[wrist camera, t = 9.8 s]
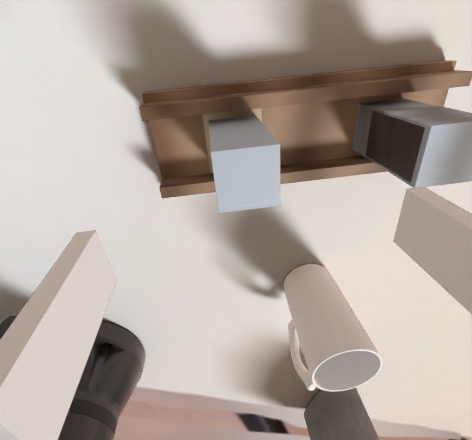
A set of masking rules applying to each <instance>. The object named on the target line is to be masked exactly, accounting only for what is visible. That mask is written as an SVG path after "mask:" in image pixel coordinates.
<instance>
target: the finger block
mask: <svg viewBox="0 0 472 440" xmlns="http://www.w3.org/2000/svg"><path fill="white" fill-rule="evenodd" d="M209 135H210V151H211V159H212V166H213V174H214V181H215V188H216V196H217V203H218V210H219V213H225V212H233V211H241V210H249V209H257V208H265V207H273V206H280V143H279V142H278V141H277V140H276V139H275V138H274V136H273V135H272V134H271V133H270V132H269V130H268V129H267V128H266V127H265V126H264V125H263V123H262V122H261V121H260V120H259V119H258V118H257V116H256V115H252V116H243V117H234V118H225V119H216V120H209Z"/></svg>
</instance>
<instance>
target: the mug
mask: <svg viewBox="0 0 472 440" xmlns="http://www.w3.org/2000/svg"><path fill="white" fill-rule="evenodd" d="M284 291H285V295H286V299H287V302H288V305H289V308H290V312H291V315H292V318H293V319H292V321H291V322H290V323H289V324H288V330H289V342H290V351H291V357H292V361H293V364H294V367H295V369H296V371H297V373H298V375H299V376H300V378H301V379H302V380H303V382H304V383H305V385H306V388H307V389H308V390H310V391H313V390H314V389H315V388H316V387H317V388H319V389H321V390H324V391H344V390H349V389H352V388H355V387H358V386H360V385H363V384H365V383H366V382H368V381H369V380H371V379H372V378H373V377H375V376H376V375H377V374H378V372H379V371H380V369H381V367H382V363H383V361H382V358H381V356H380V355H379V353H378V351H377V349H376V348H375V346H374V344H373V343H372V341H371V339H370V338H369V336H368V334H367V333H366V331H365V329H364V328H363V326H362V325H361V323H360V321H359V320H358V318H357V317H356V315H355V313H354V312H353V310H352V308H351V307H350V305H349V304H348V302H347V300H346V299H345V297H344V295H343V294H342V292H341V290H340V289H339V287H338V285H337V284H336V282H335V281H334V279H333V278H332V276H331V274H330V273H329V271H328V270H327V269H326V268H325V267H323V266H321V265H317V264H306V265H302V266H299V267H297V268H295V269H294V270H292V271H291V272H290V273H289V274H288V275H287V277H286V278H285V281H284ZM299 341H300V344H301V348H302V351H303V354H304V357H305V361H306V364H307V367H308V370H307V369H306V368H305V366H304V365H303V363H302V361H301V358H300V353H299Z"/></svg>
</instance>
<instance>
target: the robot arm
mask: <svg viewBox="0 0 472 440" xmlns="http://www.w3.org/2000/svg"><path fill="white" fill-rule="evenodd" d="M394 242H395V243H396V244H397V245H398V246H399V247H400V248H401V249H402V250H403V251H404V252H405V253H406V254H408V255H409V256H410V257H411V258H412V259H413V260H414V261H415V262H416V263H417V264H418V265H419V266H420V267H422V268H423V269H424V270H425V271H426V272H427V273H428V274H429V275H430V276H431V277H432V278H433V279H434V280H435V281H437V282H438V283H439V284H440V285H441V286H442V287H443V288H444V289H445V290H446V291H447V292H448V293H449V294H451V295H452V296H453V297H454V298H455V299H456V300H457V301H458V302H459V303H460V304H461V305H462V306H463V307H465V308H466V309H467V310H468V311H469V312H470V313H471V314H472V214H471V213H469V212H468V211H466V210H464V209H462V208H460V207H459V206H457V205H455V204H453V203H452V202H450V201H448V200H446V199H444V198H443V197H441V196H439V195H437V194H436V193H434V192H432V191H430V190H428V189H427V188H425V187H417V188H410V189H406V193H405V197H404V201H403V205H402V209H401V213H400V217H399V221H398V225H397V229H396V233H395V237H394ZM116 282H117V280H116V278H115V275H114V273H113V271H112V268H111V266H110V263H109V261H108V258H107V256H106V254H105V251H104V249H103V246H102V244H101V242H100V239H99V237H98V234H97V232H96V230H94V231H86V232H79V233H76V234H75V235H74V237H73V238H72V240H71V241H70V243H69V244H68V245H67V247H66V248H65V250H64V251H63V252H62V254H61V255H60V257H59V258H58V259H57V261H56V262H55V264H54V265H53V266H52V268H51V269H50V271H49V272H48V273H47V275H46V276H45V278H44V279H43V280H42V282H41V283H40V285H39V286H38V287H37V289H36V290H35V292H34V293H33V295H32V296H31V297H30V299H29V300H28V302H27V303H26V304H25V306H24V307H23V309H22V310H21V311H20V313H19V314H18V315H17V316H10V317H8V318H7V319H6V320H4V321H3V322H2V323H1V324H0V440H113V438H114V434H115V430H116V426H117V422H118V419H119V416H120V414H121V413H122V411H123V409H124V407H125V405H126V403H127V402H128V400H129V398H130V396H131V394H132V392H133V391H134V389H135V387H136V385H137V383H138V381H139V379H140V377H141V375H142V372H143V367H144V362H145V350H144V347H143V345H142V344H141V342H140V341H139V340H138V339H137V338H136V337H135V336H134V335H133V334H132V333H130V332H129V331H127V330H125V329H123V328H121V327H119V326H117V325H114V324H111V323H108V322H104V321H102V319H103V317H104V314H105V311H106V309H107V306H108V303H109V301H110V298H111V295H112V293H113V290H114V287H115V285H116Z"/></svg>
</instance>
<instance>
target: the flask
mask: <svg viewBox="0 0 472 440" xmlns="http://www.w3.org/2000/svg"><path fill="white" fill-rule="evenodd" d="M304 417H305V421H306V425H307V428H308V432H309V436H310V439H311V440H379V438H378V436H377V434H376V431H375V429H374V427H373V425H372V422H371V420H370V418H369V416H368V414H367V411H366V409H365V407H364V405H363V403H362V400H361V398H360V396H359V394H358V392H357V389H356V387H355V388H352V389H349V390H344V391H324V390H320V391H319V392H318V393H317V394H316V395H315V396H314V397H313V399H312V400H311V401H310V403H309V405H308V406H307V408H306V410H305V413H304Z"/></svg>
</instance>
